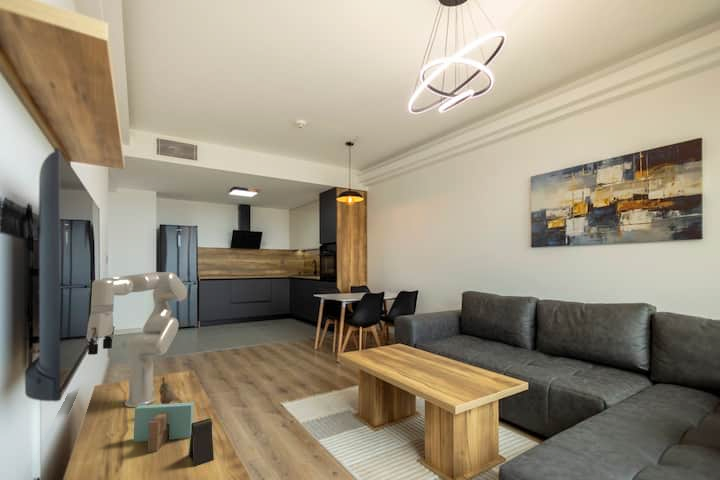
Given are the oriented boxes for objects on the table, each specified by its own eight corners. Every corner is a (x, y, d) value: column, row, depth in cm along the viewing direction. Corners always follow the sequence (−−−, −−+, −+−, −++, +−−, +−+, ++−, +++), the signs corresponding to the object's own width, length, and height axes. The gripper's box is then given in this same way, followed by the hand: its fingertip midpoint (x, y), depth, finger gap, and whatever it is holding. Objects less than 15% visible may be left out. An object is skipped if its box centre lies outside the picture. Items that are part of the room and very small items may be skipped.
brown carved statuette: (158, 424, 147) (149, 384, 146) (157, 419, 152) (149, 380, 151) (188, 412, 154) (180, 373, 153) (187, 407, 158) (179, 370, 157)
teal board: (137, 437, 131) (138, 405, 132) (193, 434, 133) (193, 402, 134) (133, 441, 128) (134, 408, 129) (190, 437, 130) (191, 405, 131)
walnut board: (171, 425, 140) (171, 400, 141) (178, 425, 141) (179, 400, 142) (147, 452, 121) (149, 422, 121) (157, 451, 121) (158, 422, 122)
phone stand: (213, 460, 116) (214, 423, 117) (194, 466, 112) (195, 428, 113) (206, 448, 123) (207, 414, 124) (188, 454, 119) (189, 418, 120)
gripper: (104, 306, 151) (103, 346, 150) (78, 312, 134) (75, 357, 132) (123, 306, 152) (121, 346, 151) (99, 311, 135) (97, 356, 133)
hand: (100, 351), depth 141 cm, fingers open, 9 cm apart
